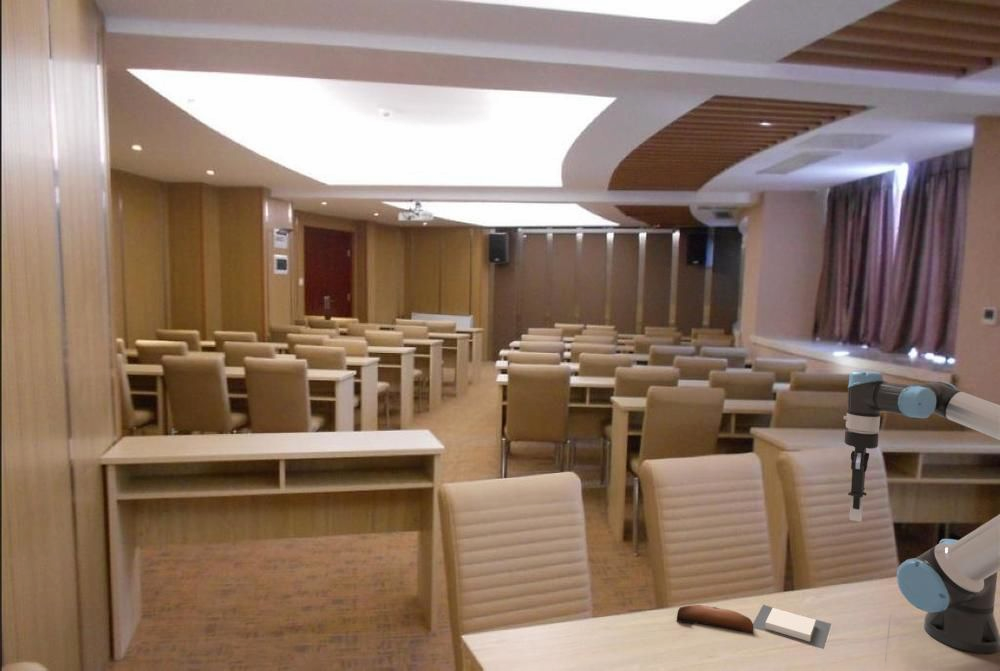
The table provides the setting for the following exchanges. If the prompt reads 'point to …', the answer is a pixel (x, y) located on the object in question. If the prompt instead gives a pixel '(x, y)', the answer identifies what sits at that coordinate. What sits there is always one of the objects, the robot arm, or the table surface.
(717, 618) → the sunglasses case
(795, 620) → the tile
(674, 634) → the table surface
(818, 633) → the mat
